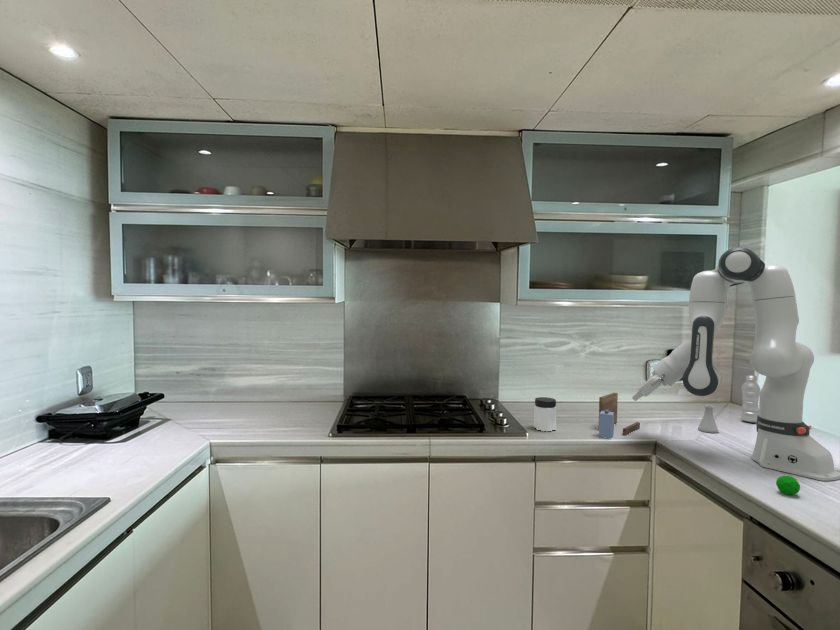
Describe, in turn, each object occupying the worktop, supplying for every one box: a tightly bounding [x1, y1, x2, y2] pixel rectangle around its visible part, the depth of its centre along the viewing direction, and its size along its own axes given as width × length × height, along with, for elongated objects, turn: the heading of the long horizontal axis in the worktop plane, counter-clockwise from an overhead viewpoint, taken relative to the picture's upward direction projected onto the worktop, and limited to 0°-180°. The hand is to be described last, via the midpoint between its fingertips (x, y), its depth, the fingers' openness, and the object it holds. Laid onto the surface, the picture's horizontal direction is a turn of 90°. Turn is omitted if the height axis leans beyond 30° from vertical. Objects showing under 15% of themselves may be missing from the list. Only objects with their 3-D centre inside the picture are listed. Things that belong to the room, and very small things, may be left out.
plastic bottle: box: [740, 374, 761, 423], centre depth 196 cm, size 6×7×20 cm
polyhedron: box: [775, 475, 801, 496], centre depth 123 cm, size 5×5×5 cm
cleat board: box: [598, 392, 641, 436], centre depth 183 cm, size 11×14×13 cm
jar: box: [533, 396, 558, 432], centre depth 182 cm, size 9×8×12 cm
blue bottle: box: [598, 409, 615, 439], centre depth 174 cm, size 4×5×10 cm
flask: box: [697, 404, 719, 434], centre depth 182 cm, size 7×7×10 cm
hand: (636, 396), depth 171 cm, fingers open, 8 cm apart
